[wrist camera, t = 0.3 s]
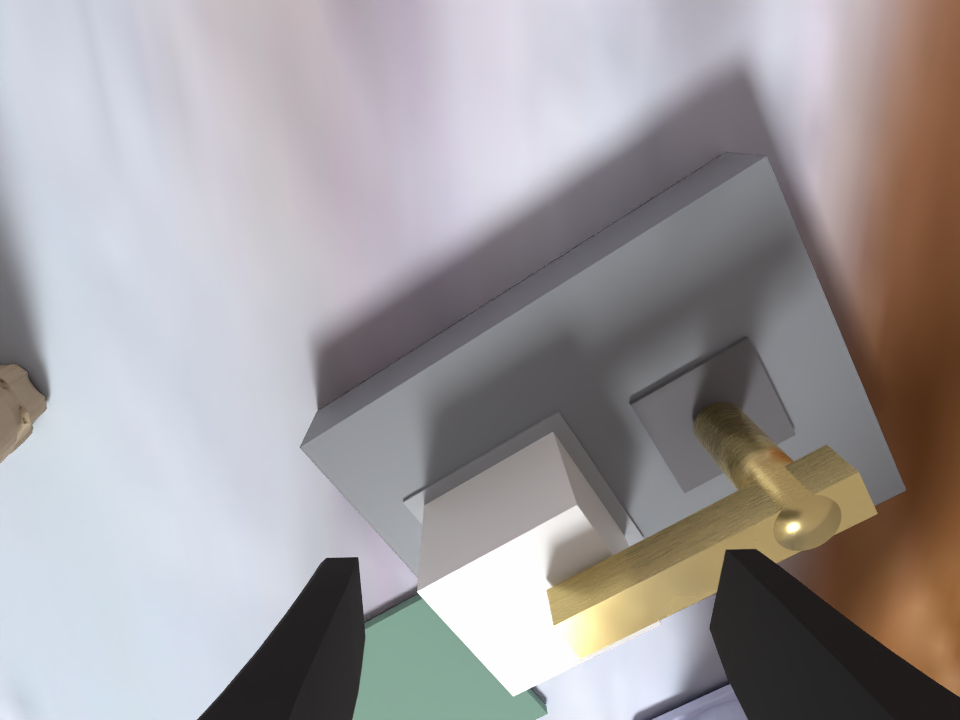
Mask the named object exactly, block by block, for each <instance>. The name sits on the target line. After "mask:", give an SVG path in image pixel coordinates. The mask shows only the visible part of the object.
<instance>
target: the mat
mask: <svg viewBox="0 0 960 720" xmlns="http://www.w3.org/2000/svg"><path fill="white" fill-rule="evenodd" d="M364 626H365V637H366V638H365V646H364V654H363V662H362V670H361V677H360V685H359V692H358V697H357V701H356V706H355V710H354V714H353V719H352V720H536V719H538V718H540V717H542V716H544V715H546V714H547V707H546V705H545V704H544V703H543V702H542V700H541V699H540V698H539V697H538V696H537V695H536V694H535V693H534V691H533V690H532V689H531V688H530V689H528V690H526V691H524V692H522V693H520V694H518V695H515V696H512V695H511V694H510V692H509V691H508V690H507V689H506V688H505V687H504V686H503V685H502V684H501V683H500V682H499V680H498V679H497V678H496V677H495V676H494V675H493V674H492V673H491V672H490V671H489V670H488V668H487V667H486V666H485V665H484V664H483V663H482V662H481V661H480V660H479V659H478V658H477V657H476V655H475V654H474V653H473V652H472V651H471V650H470V649H469V648H468V647H467V646H466V645H465V643H464V642H463V641H462V640H461V639H460V638H459V637H458V636H457V635H456V634H455V633H454V632H453V630H452V629H451V628H450V627H449V626H448V625H447V624H446V623H445V622H444V621H443V620H442V618H441V617H440V616H439V615H438V614H437V613H436V612H435V611H434V610H433V609H432V608H431V607H430V605H429V604H428V603H427V602H426V601H425V600H424V599H423V598H422V597H421V596H420V595H419V594H417V595H415V596H413V597H411V598H409V599H408V600H406V601H404V602H402V603H400V604H398V605H397V606H395V607H393V608H391V609H389V610H387V611H385V612H384V613H382V614H380V615H378V616H376V617H374V618H373V619H371V620H369V621H367V622H365V623H364Z"/></svg>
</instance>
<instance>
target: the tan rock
mask: <svg viewBox="0 0 960 720" xmlns="http://www.w3.org/2000/svg"><path fill="white" fill-rule="evenodd" d="M46 409H47V406H46V400H45V396H44V395H42V394H41V393H39V392H38V391H37V390H36V389H35V387H34V386H33V385H32V383H31V381H30V380H29V377H28V372H27V371H26V370H24V369H23V368H21V367H20V366H18V365H16V364H10V365H0V463H1V462H2V461H3V460H4V459H5V458H6V457H7V456H8V455H9V454H11V453H12V452H13V451H14V450H16V449H17V448H18V447H19V446H20V445H21V444H22V443H23V442H24V441H25V440H26V439H27V438H28V437H29V436H30V435H31V433H32V430H33V426H32V424H33V421H35V420H36V419H37V418H38V417H39V416H40V415H41V414H42V413H43V412H44V411H45V410H46Z"/></svg>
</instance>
